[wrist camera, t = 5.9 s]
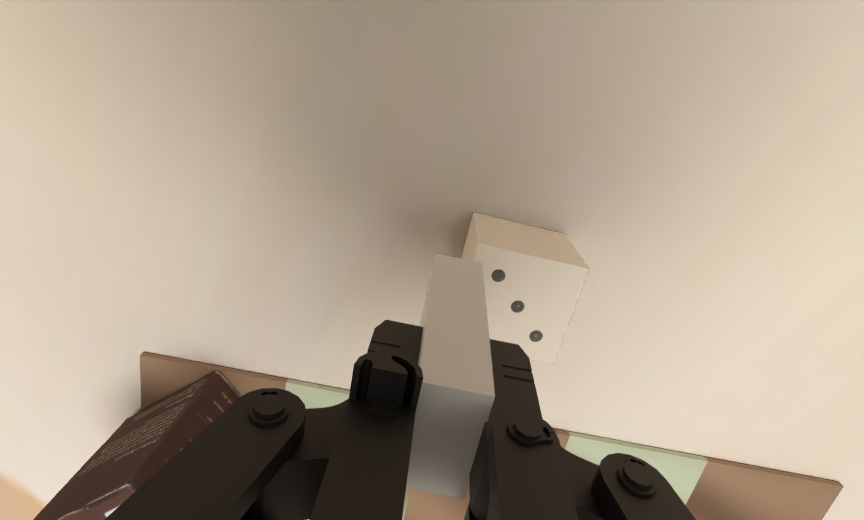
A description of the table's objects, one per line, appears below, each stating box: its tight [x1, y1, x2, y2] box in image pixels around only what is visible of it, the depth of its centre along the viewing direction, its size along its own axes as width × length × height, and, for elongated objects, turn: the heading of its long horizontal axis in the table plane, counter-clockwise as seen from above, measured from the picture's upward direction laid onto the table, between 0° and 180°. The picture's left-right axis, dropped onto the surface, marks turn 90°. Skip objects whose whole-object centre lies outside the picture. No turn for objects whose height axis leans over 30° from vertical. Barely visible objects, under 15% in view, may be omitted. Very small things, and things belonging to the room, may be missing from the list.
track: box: [140, 352, 843, 520], centre depth 26 cm, size 8×35×1 cm, turn 79°
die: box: [461, 213, 589, 364], centre depth 20 cm, size 4×4×4 cm
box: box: [34, 371, 240, 520], centre depth 22 cm, size 6×6×7 cm
